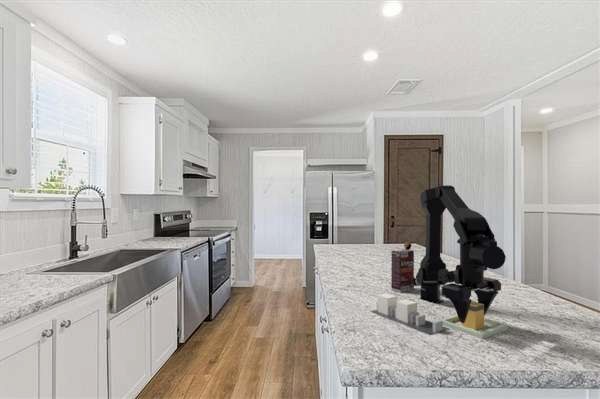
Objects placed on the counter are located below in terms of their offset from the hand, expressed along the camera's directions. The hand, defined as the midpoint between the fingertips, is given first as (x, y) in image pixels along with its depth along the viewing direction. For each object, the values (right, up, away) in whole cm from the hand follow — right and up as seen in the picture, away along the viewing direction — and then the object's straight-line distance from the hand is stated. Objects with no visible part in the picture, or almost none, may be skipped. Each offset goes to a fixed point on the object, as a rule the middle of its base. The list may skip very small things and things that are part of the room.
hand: (472, 319), depth 90 cm
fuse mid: (-16, -2, +5) cm, 17 cm away
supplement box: (-5, -4, +43) cm, 44 cm away
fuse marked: (0, -3, 0) cm, 3 cm away
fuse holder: (-16, -4, +5) cm, 17 cm away
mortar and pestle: (0, -4, +54) cm, 54 cm away
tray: (0, -3, 0) cm, 3 cm away
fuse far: (-20, -2, +12) cm, 23 cm away
